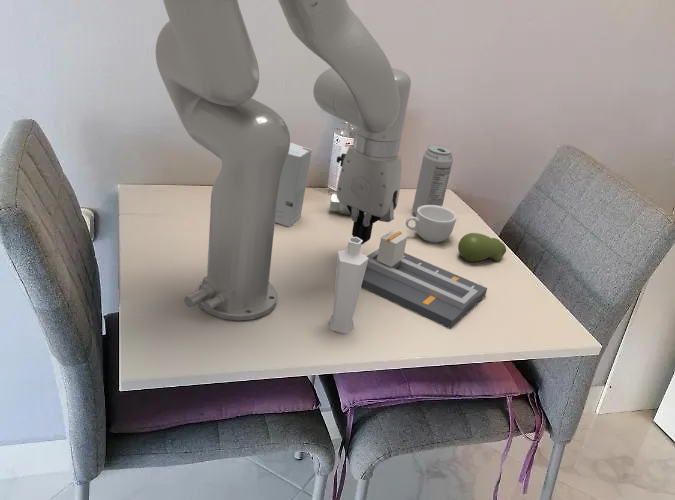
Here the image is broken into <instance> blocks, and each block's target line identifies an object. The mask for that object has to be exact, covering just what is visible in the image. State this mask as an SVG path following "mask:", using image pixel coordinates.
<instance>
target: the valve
mask: <svg viewBox="0 0 675 500" xmlns="http://www.w3.org/2000/svg"><path fill="white" fill-rule="evenodd" d="M345 156H346V153H341V154H340V155H339V156H336V163H338V164H339V163H340V164H339V165H340V167H341V168H342V165H343V162H344V159H345ZM329 203H330V204H329V211H330V212H336V213H340V214H342V215H345V216H349V215H350V216H351V213H350V212H349V210H348V208H347V207H345V206H344V205H343V204H341V203H340V202H339V200H338V198H337V195H336V193H332V194H331V197H330V202H329Z"/></svg>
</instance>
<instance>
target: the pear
mask: <svg viewBox="0 0 675 500" xmlns="http://www.w3.org/2000/svg"><path fill="white" fill-rule="evenodd" d="M506 246H507V245H505V243H503V242H502V241H501V240H500V239H498V238H495V237H490V236H488V235H485V234H482V233H479V232H478V233H477V232H471V233H470V232H469V233H466V234H465V235H463V236H462V237H461V238H460V240H459V242H458V245H457V249H458V253H459V255H460V257H461V258H463V259H464V260H465V261H467V262H468V261H469V262H474V263H475V262H478V261H483V260H485V259H487V258H490V259H492V260H493V261H496V262H500V260H501V261H502V259H503V257H504V255H505V254H506V252H507V247H506Z"/></svg>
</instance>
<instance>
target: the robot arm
mask: <svg viewBox="0 0 675 500" xmlns="http://www.w3.org/2000/svg"><path fill="white" fill-rule="evenodd" d="M277 1H278V3H279V5H280V8H281V10H282V12H283V16H284V17H285V19H286V22H287V24H288V27H289V28H290V30H291V32H292V33H293V35H294V36H295V37H296V38H297V39H298V40H299V41H300V42H301V43H302V44H303V46H305V47H306V48H307V49H308V50H310V51H311V52H312V53H313V54H314V55H316V56H317V57H319V58H320V59H321V60H322V61H324V62H325V63H326V64H327V65H328V66H329V67H330V68H328V69H326V70H324V71H323V72H321V74H319V76H318V77H317V79H316V80H315V82H314V83H313V84H314V85H313V98H314V101H315V102H316V104H317V106H318V107H319V108H320V109H321V110H323V112H325V113H327V114H329V115H331V116H333V117H335V118H336V119H339V120H341V121H343V122H346V123H348V124H350V125H352V126H354V127H355V129H353V128H351V129H350V130H349V131H348V132H349V133H348V136H349V138H350V137H351V138H352V139H353V142H352V145H349V146H348V148H347V150H346V153H345V154H346V156H345V159H344V162H343V165H342V167H341V168H340V169H341V170H340V172H339V176H338V181H337V182H338V183H337V186H336V193H335V194H336V195H337V198H338V200H339V202H340V203H341V204H343V205H344V206H345V207H347V208H348V210H349V212H350V213H351V214H350V216H351V218H350V219H351V220H352V222H353V226H352V229H351V230H352V231H351V235H352V237H358V238H360V239H361V240H363V242H362V243H361V246H362V245H364V244H366V243H367V242H368V241H370V239H371V237H372V231H373V227H374V224H375V223H376V222H378V221H380V222H384V223H390V222H392V221H393V220H394V219H395V213H394V210H396V208H397V206H398V201H399V196H400V190H401V189H400V188H401V178H402V159H401V156H400V155H399V151H400V146H401V141H402V134H403V129H404V124H405V119H406V114H407V113H406V112H407V109H408V108H407V107H408V102H409V99H410V98H409V97H410V93H411V87H412V86H411V85H412V84H411V83H412V80H411V77H410V76H409V74H408V73H406V72H405V71H403V70H401V69H398V68H393V67H392V66H391V63H390V61H389V59H388V57H387V55H386V53H385V52H384V50H383V49H382V47H381V46H380V45H379V42H378V41H376V39H375V38H374V36H373V35H372V34H371V32H370V31H369V30H368V29H367V27H366V26H365V25H364V23H363V22H362V21H361V19H359V16H358V15H357V14H355V12H354V11H353V9H351V7H350V5H349V3H348V2H347V0H277ZM163 5H164V8H165V10H166V14H167V16H168V19H169V20H168V21H167V22H166V23H165V24H164V25H163V27H162V28H161V30H160V32H159V34H158V36H157V40H156V43H155V60H156V61H155V62H156V65H157V69H158V72H159V74H160V77H161V80H162V82H163V84H164V86H165V88H166V91H167V93H168V95H169V98H170V100H171V102H172V104H173V106H174V108H175V111H176V114H177V115H178V117H179V119H180V121H181V124H182V126H183V127H184V129H185V131H186V132H187V134H188V135H189V136H190V137H191V139H192V140H194V141H195V142H196V143H197V144H199V146H201V147H203V148H204V149H206V151H209V152H210V153H212V154H213V155H214V156H216V158H219V159H220V160H221V168H220V171H219V172H218V175H217V176H216V178H215V180H214V182H213V184H212V190H211V194H210V195H211V196H210V214H209V215H210V216H209V229H208V231H209V233H208V251H207V265H206V266H207V271H206V276H204V277H202V280H201V281H200V282H199V283H198V284H197V287H196V288H195V291H194V292H192V293H190V294H188V295H186V296H185V297H184V298H183V303H184V305H185V306H186V307H187V308H188V309H194V308H195V307H197V306H199V307H200V308H201V309H202V310H203V311H205V312H206V313H208V314H210V315H212V316H213V317H215V318H219V319H225V320H230V321H249V320H255V319H258V318H261V317H264V316H265V315H268V313H271V311H273V309H274V308H275V307H276V305H277V301H278V293H277V289H276V288H275V286H274V285H273V284H271V283H270V274H271V273H270V271H271V262H272V253H273V243H274V234H275V226H276V222H275V216H276V205H277V197H278V190H279V184H280V179H281V175H282V171H283V168H284V165H285V162H286V159H287V156H288V153H289V148H290V143H291V135H290V131H289V127H288V126H287V123H286V122H285V120H284V119H283V118H282V116H280V114H279V113H278V112H276V111H275V110H274V109H272V108H270V107H269V106H268V105H267V104H264V103H262V102H260V101H258V100H256V99H254V98H253V97H254V95H255V94H256V92H257V90H258V86H259V83H260V70H259V63H258V60H257V56H256V53H255V50H254V47H253V44H252V42H251V38H250V36H249V32H248V30H247V27H246V23H245V21H244V17H243V14H242V12H241V8H240V5H239V1H238V0H163Z"/></svg>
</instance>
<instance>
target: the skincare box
mask: <svg viewBox="0 0 675 500" xmlns="http://www.w3.org/2000/svg"><path fill="white" fill-rule="evenodd" d="M312 152H313V151H312V149H311V148H308V147H305V146H301V145H299V144H296V143H293V142H290V148H289V153H288V156H287V159H286V162H285V165H284V168H283V171H282V175H281V179H280V184H279V190H278V197H277V205H276V216H275V224H276V223H277V224H279V225H282V226H285V227H291V226H292V225H293V224H295V223H296V222H297V221H298V220H299V219H300V218H301V217H302V211H303V204H304V198H305V192H306V187H307V182H308V181H307V180H308V174H309V169H310V163H311V159H312V157H311V156H312ZM295 221H296V222H295Z"/></svg>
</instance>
